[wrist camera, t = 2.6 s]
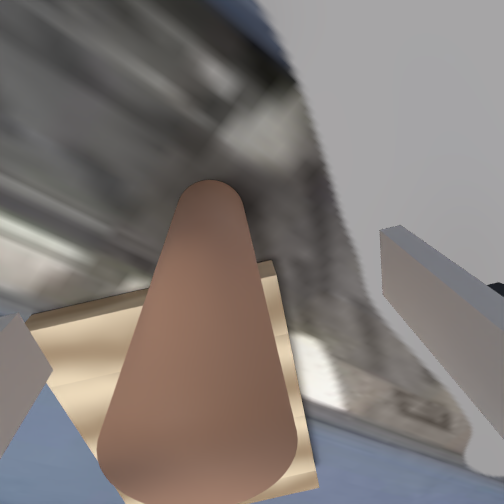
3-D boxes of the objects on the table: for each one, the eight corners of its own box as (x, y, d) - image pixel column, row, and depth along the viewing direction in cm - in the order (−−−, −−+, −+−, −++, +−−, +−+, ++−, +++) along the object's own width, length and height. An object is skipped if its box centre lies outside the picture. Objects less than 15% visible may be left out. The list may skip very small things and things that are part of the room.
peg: (167, 188, 20) (59, 407, 6) (235, 172, 20) (280, 358, 6) (187, 249, 21) (138, 526, 8) (250, 235, 21) (309, 488, 8)
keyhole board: (31, 314, 22) (15, 334, 20) (271, 260, 22) (276, 275, 20) (145, 502, 32) (141, 527, 30) (313, 465, 32) (319, 487, 30)
